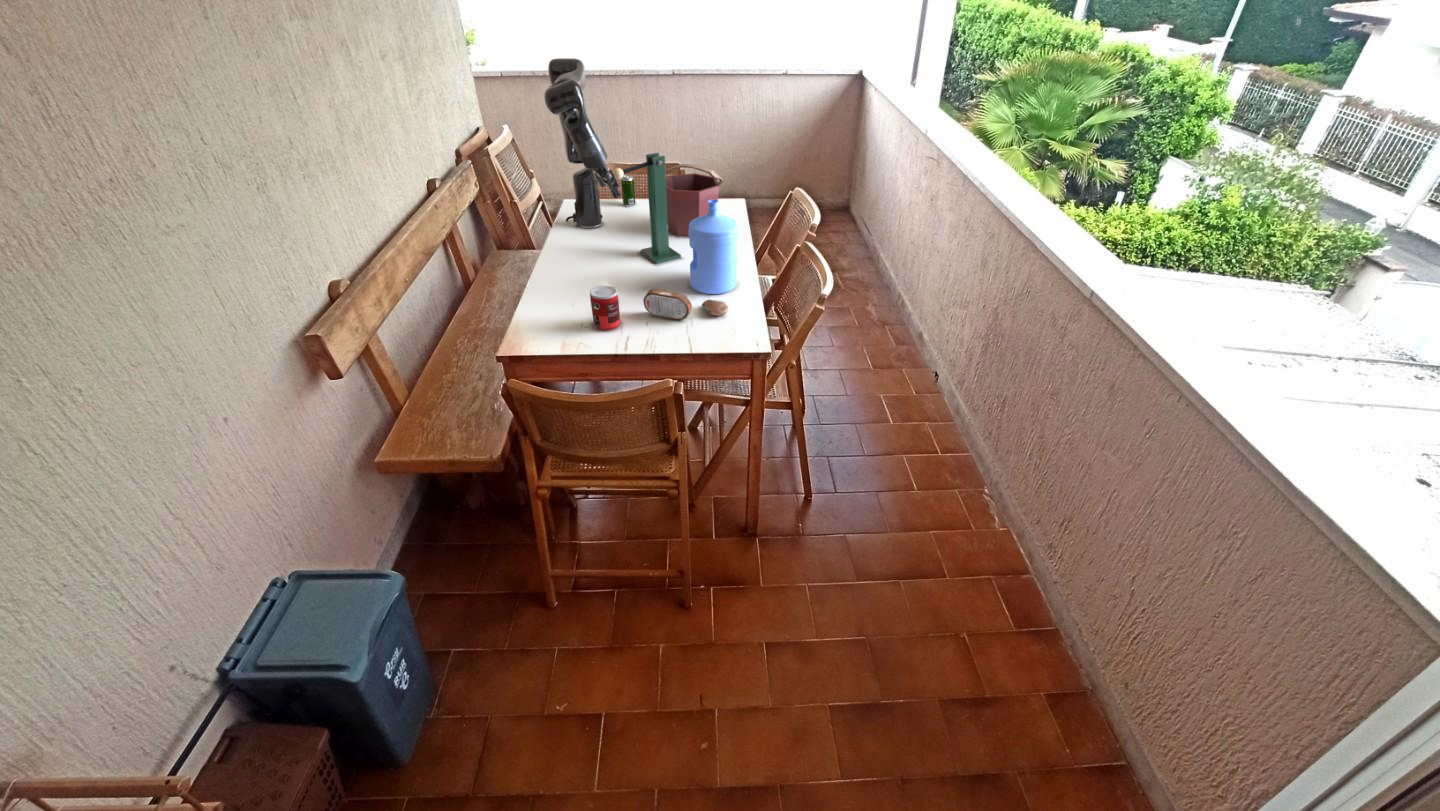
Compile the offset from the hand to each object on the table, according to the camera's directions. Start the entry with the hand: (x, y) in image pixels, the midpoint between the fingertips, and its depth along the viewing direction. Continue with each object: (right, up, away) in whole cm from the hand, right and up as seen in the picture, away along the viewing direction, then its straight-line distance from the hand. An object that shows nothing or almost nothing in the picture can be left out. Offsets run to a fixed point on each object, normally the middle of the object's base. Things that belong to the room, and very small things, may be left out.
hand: (610, 191), depth 202 cm
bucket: (+23, +1, +51) cm, 56 cm away
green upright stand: (+13, -13, +31) cm, 36 cm away
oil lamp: (+33, -39, -3) cm, 51 cm away
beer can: (-5, +19, +75) cm, 78 cm away
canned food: (+1, -43, -10) cm, 45 cm away
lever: (+7, +9, +10) cm, 15 cm away
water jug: (+32, -27, +12) cm, 44 cm away
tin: (+18, -41, -6) cm, 45 cm away
